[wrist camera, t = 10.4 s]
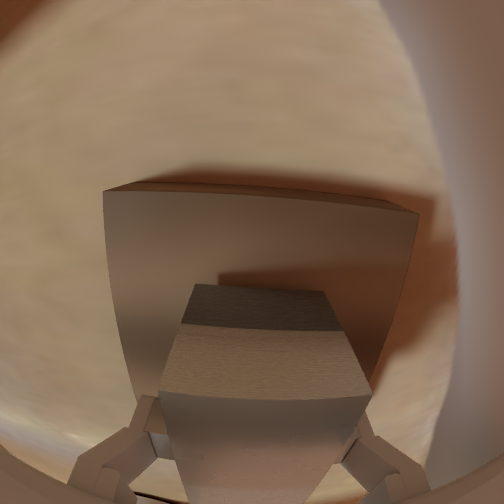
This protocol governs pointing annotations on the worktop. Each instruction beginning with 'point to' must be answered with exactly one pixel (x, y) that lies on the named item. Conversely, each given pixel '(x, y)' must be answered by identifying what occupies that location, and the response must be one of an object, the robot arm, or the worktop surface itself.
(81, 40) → the worktop surface
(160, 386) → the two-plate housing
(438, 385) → the worktop surface
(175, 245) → the walnut stand
